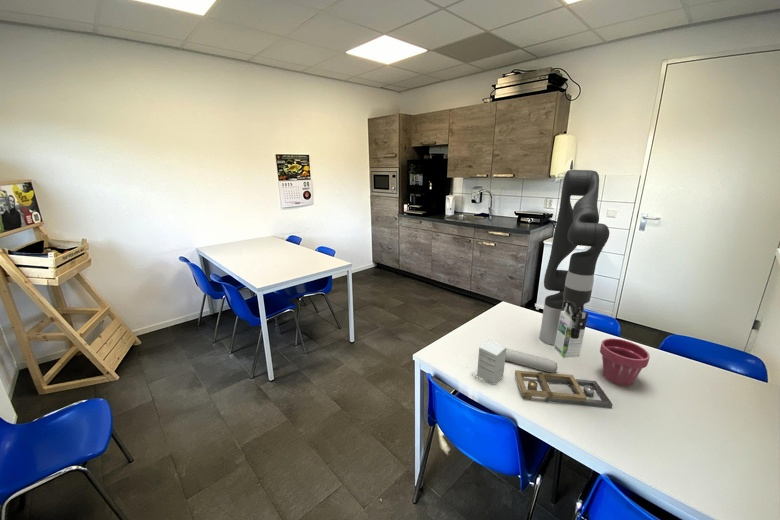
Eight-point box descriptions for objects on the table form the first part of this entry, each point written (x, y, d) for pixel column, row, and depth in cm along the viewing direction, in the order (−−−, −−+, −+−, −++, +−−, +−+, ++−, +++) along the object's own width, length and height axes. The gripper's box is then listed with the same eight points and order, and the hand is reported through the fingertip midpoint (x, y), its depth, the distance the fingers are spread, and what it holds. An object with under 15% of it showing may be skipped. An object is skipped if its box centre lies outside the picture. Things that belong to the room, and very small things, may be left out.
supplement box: (486, 368, 125) (488, 339, 121) (503, 376, 120) (507, 347, 116) (475, 376, 120) (478, 346, 116) (494, 385, 115) (497, 355, 111)
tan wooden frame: (514, 377, 119) (515, 370, 119) (571, 382, 117) (572, 375, 116) (522, 399, 108) (523, 391, 107) (585, 405, 105) (587, 398, 104)
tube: (558, 359, 124) (492, 342, 135) (558, 362, 119) (490, 345, 130) (556, 373, 124) (490, 355, 135) (556, 376, 119) (488, 357, 130)
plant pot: (644, 377, 119) (652, 347, 115) (639, 397, 109) (647, 364, 105) (599, 362, 128) (605, 334, 125) (591, 378, 118) (597, 348, 115)
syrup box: (553, 348, 110) (559, 310, 106) (569, 347, 110) (576, 309, 106) (563, 358, 105) (570, 318, 100) (580, 357, 105) (588, 317, 101)
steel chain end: (536, 379, 118) (537, 373, 118) (594, 384, 115) (596, 378, 115) (547, 401, 107) (548, 395, 106) (611, 408, 104) (613, 401, 103)
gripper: (602, 295, 93) (592, 345, 98) (581, 278, 107) (573, 323, 112) (574, 293, 94) (565, 343, 99) (558, 277, 108) (550, 321, 113)
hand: (570, 332), depth 105 cm, fingers closed on syrup box, 6 cm apart
